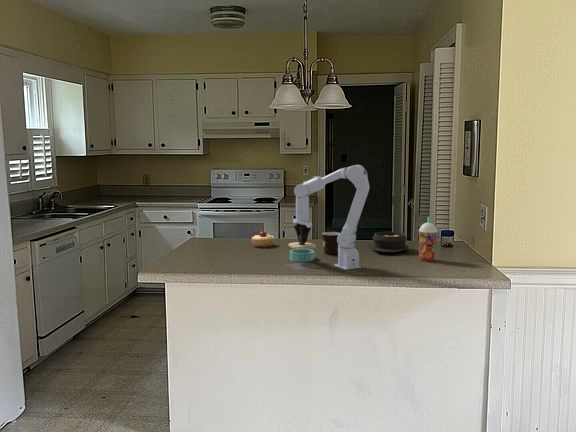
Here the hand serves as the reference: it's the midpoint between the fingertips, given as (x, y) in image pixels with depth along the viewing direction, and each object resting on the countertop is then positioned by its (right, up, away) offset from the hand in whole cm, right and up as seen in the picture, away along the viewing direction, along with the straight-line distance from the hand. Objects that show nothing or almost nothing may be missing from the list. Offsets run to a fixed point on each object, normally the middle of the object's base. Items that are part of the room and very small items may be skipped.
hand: (302, 241), depth 244 cm
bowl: (0, -9, +8) cm, 12 cm away
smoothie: (+57, -9, +5) cm, 58 cm away
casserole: (+44, -6, +28) cm, 52 cm away
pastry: (-19, -5, +42) cm, 46 cm away
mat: (0, -11, -6) cm, 12 cm away
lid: (0, -2, 0) cm, 2 cm away
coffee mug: (+15, -7, +22) cm, 27 cm away
